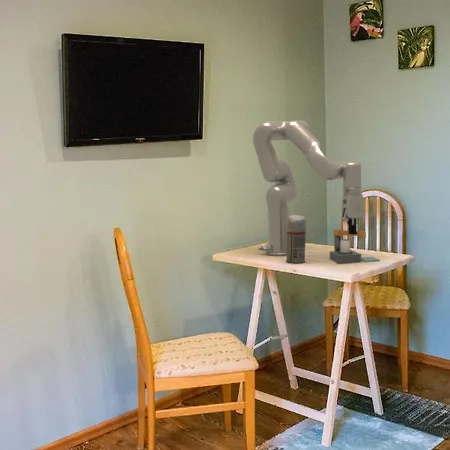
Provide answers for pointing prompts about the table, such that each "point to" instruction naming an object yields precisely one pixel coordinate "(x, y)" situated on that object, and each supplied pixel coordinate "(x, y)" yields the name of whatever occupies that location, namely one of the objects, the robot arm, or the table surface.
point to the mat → (369, 259)
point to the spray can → (296, 239)
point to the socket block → (345, 257)
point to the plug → (345, 247)
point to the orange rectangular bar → (340, 232)
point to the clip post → (337, 243)
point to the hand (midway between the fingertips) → (352, 233)
